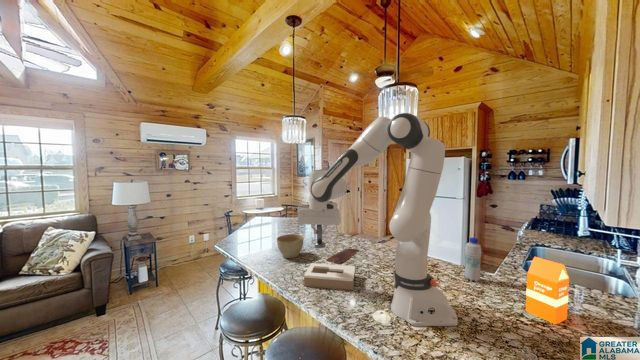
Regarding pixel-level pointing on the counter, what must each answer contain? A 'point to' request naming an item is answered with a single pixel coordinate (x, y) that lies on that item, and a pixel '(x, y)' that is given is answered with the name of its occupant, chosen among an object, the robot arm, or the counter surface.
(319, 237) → the peg
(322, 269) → the keyhole plate
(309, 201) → the robot arm
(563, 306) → the orange juice
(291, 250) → the planter bowl
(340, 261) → the wooden tablet
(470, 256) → the bottle
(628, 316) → the counter surface
